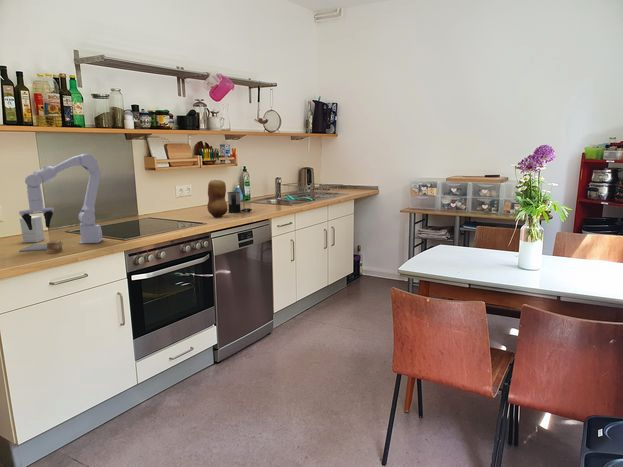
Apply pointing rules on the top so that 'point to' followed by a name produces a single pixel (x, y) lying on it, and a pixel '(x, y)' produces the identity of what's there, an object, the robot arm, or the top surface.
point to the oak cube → (54, 246)
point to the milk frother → (235, 203)
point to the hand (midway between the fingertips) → (39, 228)
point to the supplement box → (36, 231)
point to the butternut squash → (217, 198)
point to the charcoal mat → (35, 247)
